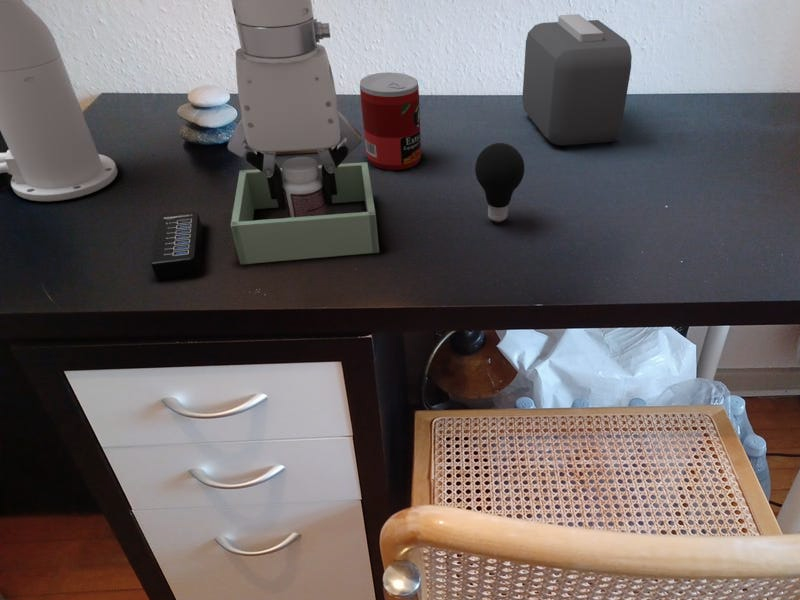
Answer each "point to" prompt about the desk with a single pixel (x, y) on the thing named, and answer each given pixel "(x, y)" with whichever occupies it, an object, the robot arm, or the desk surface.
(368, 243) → the open box
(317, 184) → the pill bottle
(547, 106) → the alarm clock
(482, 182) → the light bulb
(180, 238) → the multiport hub
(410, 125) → the canned food
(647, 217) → the desk surface
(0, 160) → the robot arm
